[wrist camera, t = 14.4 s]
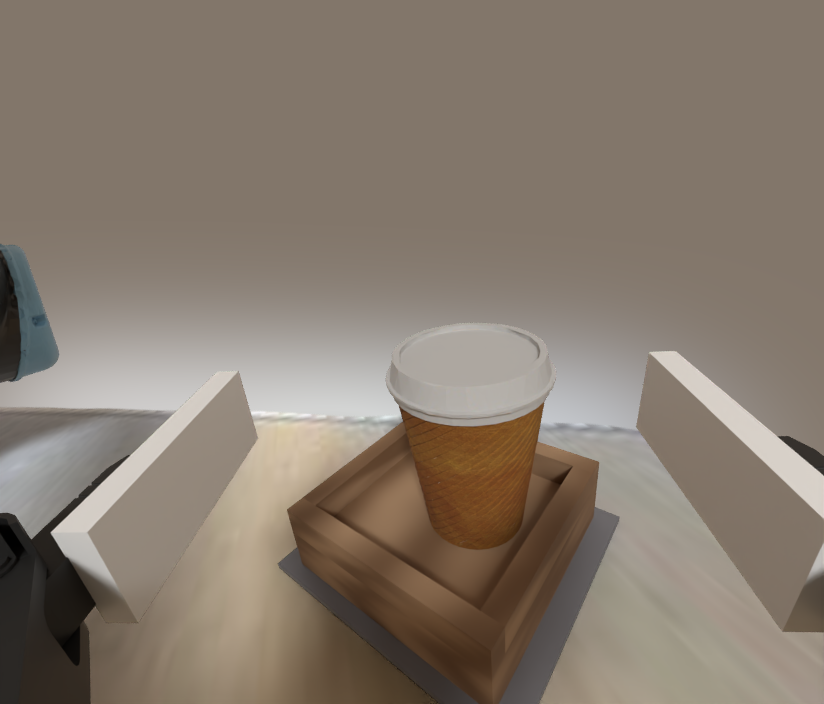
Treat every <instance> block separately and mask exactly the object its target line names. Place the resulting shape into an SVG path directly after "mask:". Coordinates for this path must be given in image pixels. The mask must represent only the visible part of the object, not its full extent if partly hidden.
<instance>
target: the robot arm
mask: <svg viewBox="0 0 824 704" xmlns="http://www.w3.org/2000/svg"><path fill="white" fill-rule="evenodd" d="M58 357H59V351H58V347H57V345H56V342H55V339H54V336H53V333H52V330H51V327H50V324H49V321H48V318H47V315H46V312H45V309H44V307H43V304H42V301H41V298H40V295H39V292H38V289H37V286H36V284H35V281H34V278H33V275H32V272H31V269H30V266H29V263H28V260H27V258H26V255H25V253H24V251H23V250H22V249H21V248H20V247H18V246H16V245H2V244H0V383H1V382H5V381H10V382H13V381H18V380H20V379H21V378H22V377H24V376H27V375H30V374H33V373H36V372H39V371H43V370H46V369H48V368H50V367H52V366H53V365H54V364H55V363H56V362H57V360H58ZM636 427H637V429H638V430H639V432H640V433H641V434H642V436H643V437H644V439H645V440H646V441H647V443H648V444H649V446H650V447H651V448H652V450H653V451H654V453H655V454H656V455H657V457H658V458H659V460H660V461H661V462H662V464H663V465H664V467H665V468H666V469H667V471H668V472H669V474H670V475H671V476H672V478H673V479H674V481H675V482H676V483H677V485H678V486H679V488H680V489H681V490H682V492H683V493H684V495H685V496H686V497H687V499H688V500H689V502H690V503H691V504H692V506H693V507H694V509H695V510H696V511H697V513H698V514H699V516H700V517H701V518H702V520H703V521H704V523H705V524H706V525H707V527H708V528H709V530H710V531H711V532H712V534H713V535H714V537H715V538H716V539H717V541H718V542H719V544H720V545H721V546H722V548H723V549H724V551H725V552H726V553H727V555H728V556H729V558H730V559H731V560H732V562H733V563H734V565H735V566H736V567H737V569H738V570H739V572H740V573H741V574H742V576H743V577H744V579H745V580H746V581H747V583H748V584H749V586H750V587H751V588H752V590H753V591H754V593H755V594H756V595H757V597H758V598H759V600H760V601H761V602H762V604H763V605H764V607H765V608H766V609H767V611H768V612H769V614H770V615H771V616H772V618H773V619H774V621H775V622H776V623H777V625H778V626H779V628H780V629H781V630H782V632H824V456H823V455H821V454H820V453H819V452H818V451H816V450H815V449H813V448H811V447H809V446H807V445H805V444H803V443H801V442H798V441H797V440H795V439H793V438H791V437H789V436H781V437H780V436H779V437H777V436H776V435H775V434H773V433H772V432H771V431H770V430H769V429H767V428H766V427H765V426H764V425H763V424H762V423H760V422H759V421H758V420H756V418H754V417H753V416H752V415H751V414H749V413H748V412H747V411H746V410H745V409H744V408H742V407H741V406H740V405H739V404H738V403H737V402H735V401H734V400H733V399H732V398H731V397H729V396H728V395H727V394H726V393H725V392H723V391H722V390H721V389H720V388H719V387H718V386H716V385H715V384H714V383H713V382H712V381H710V380H709V379H708V378H707V377H706V376H704V375H703V374H702V373H701V372H700V371H699V370H697V369H696V368H695V367H694V366H693V365H691V364H690V363H689V362H688V361H686V360H685V359H684V358H683V357H682V356H681V355H679V354H678V353H677V352H676V351H666V352H649V355H648V361H647V367H646V373H645V379H644V384H643V391H642V396H641V402H640V408H639V414H638V420H637V426H636ZM257 439H258V436H257V433H256V430H255V426H254V423H253V419H252V416H251V412H250V409H249V406H248V402H247V399H246V395H245V392H244V388H243V385H242V381H241V378H240V374H239V371H231V372H230V371H229V372H216V373H215V374H214V375H213V376H212V377H211V378H210V379H209V380H208V381H207V382H206V383H205V384H204V385H203V386H202V387H201V388H200V389H199V390H198V391H197V392H196V393H195V394H194V395H193V396H191V397H190V398H189V399H188V400H187V401H186V402H185V403H184V404H183V405H182V406H181V407H180V408H179V409H178V410H177V411H176V412H175V413H174V414H173V415H172V416H171V417H170V418H169V419H168V420H167V421H166V422H165V423H164V424H162V425H161V426H160V427H159V428H158V429H157V430H156V431H155V432H154V433H153V434H152V435H151V436H150V437H149V438H148V439H147V440H146V441H145V442H144V443H143V444H142V445H141V446H140V447H139V448H138V449H137V450H136V451H135V452H133V453H132V454H131V455H128V456H126V457H125V458H123V459H121V460H120V461H118V462H117V463H115V464H113V465H112V466H110V467H109V468H107V469H106V470H105V471H104V472H103V473H102V474H101V475H100V476H99V477H98V478H97V479H95V480H94V481H93V482H92V485H91V486H88V487H87V488H86V489H85V490H84V491H83V492H82V493H81V494H79V498H75V499H74V500H73V501H72V502H71V503H70V504H69V505H68V506H67V507H66V508H65V509H63V510H62V511H61V512H60V513H59V514H58V515H57V516H56V517H55V518H54V519H53V520H52V521H51V522H50V523H49V524H47V525H46V526H45V527H44V528H43V529H42V530H41V531H40V532H39V533H38V534H37V535H36V536H35V537H34V538H33V539H30V537H29V536H28V534H27V533H26V531H25V530H24V528H23V527H22V525H21V524H20V522H19V520H18V519H17V517H16V516H15V515H13V514H10V513H0V704H91V702H90V654H89V631H88V628H87V626H86V624H85V622H84V621H83V620H84V619H85V618H86V617H87V615H88V614H89V613H90V611H91V610H92V609H93V607H94V606H96V607H97V609H98V611H99V612H100V614H101V615H102V617H103V619H104V620H105V622H106V623H139V621H140V620H141V618H142V617H143V615H144V614H145V612H146V611H147V609H148V608H149V606H150V604H151V603H152V601H153V600H154V598H155V597H156V595H157V594H158V592H159V591H160V589H161V587H162V586H163V584H164V583H165V581H166V580H167V578H168V577H169V575H170V574H171V572H172V570H173V569H174V567H175V566H176V564H177V563H178V561H179V560H180V558H181V557H182V555H183V553H184V552H185V550H186V549H187V547H188V546H189V544H190V543H191V541H192V540H193V538H194V536H195V535H196V533H197V532H198V530H199V529H200V527H201V526H202V524H203V523H204V521H205V520H206V518H207V516H208V515H209V513H210V512H211V510H212V509H213V507H214V506H215V504H216V503H217V501H218V499H219V498H220V496H221V495H222V493H223V492H224V490H225V489H226V487H227V486H228V484H229V482H230V481H231V479H232V478H233V476H234V475H235V473H236V472H237V470H238V469H239V467H240V465H241V464H242V462H243V461H244V459H245V458H246V456H247V455H248V453H249V452H250V450H251V448H252V447H253V445H254V444H255V442H256V441H257Z"/></svg>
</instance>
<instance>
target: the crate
mask: <svg viewBox="0 0 824 704" xmlns="http://www.w3.org/2000/svg"><path fill="white" fill-rule="evenodd" d="M598 469H599V462H598V461H595V460H592V459H589V458H586V457H582V456H579V455H576V454H573V453H570V452H567V451H564V450H561V449H558V448H555V447H552V446H549V445H546V444H543V443H540V442H537V445H536V451H535V456H534V461H533V467H532V472H531V478H530V482H529V488H528V493H527V499H526V504H525V510H524V516H523V522H522V525H521V527H520V529H519V531H518V532H517V533H516V535H515V536H514V537H513V538H512V539H510V540H509V541H508V542H506V543H504V544H502V545H500V546H498V547H494V548H490V549H483V550H472V549H466V548H462V547H457V546H455V545H453V544H451V543H449V542H447V541H446V540H444V539H443V538H441V537H440V536H439V535H438V534H437V532H436V531H435V530H434V529H433V527H432V525H431V522H430V519H429V514H428V511H427V509H428V508H427V507H426V504H425V502H426V501H425V500H424V497H423V495H424V494H423V492H422V489H421V485H420V482H419V480H420V479H419V477H418V475H417V470H416V468H415V462H414V460H413V455H412V452H411V448H410V444H409V441H408V437H407V434H406V429H405V426H404V422H402V423H400V424H399V425H398V426H397V427H395V428H394V429H393V430H391V431H390V432H389V433H387V434H386V435H385V436H383V437H382V438H381V439H379V440H378V441H377V442H375V443H374V444H373V445H372V446H370V447H369V448H368V449H366V450H365V451H364V452H362V453H361V454H360V455H358V456H357V457H356V458H354V459H353V460H352V461H350V462H349V463H348V464H347V465H345V466H344V467H343V468H341V469H340V470H339V471H337V472H336V473H335V474H333V475H332V476H331V477H329V478H328V479H327V480H326V481H324V482H323V483H322V484H320V485H319V486H318V487H316V488H315V489H314V490H312V491H311V492H310V493H308V494H307V495H306V496H304V497H303V498H302V499H301V500H299V501H298V502H297V503H295V504H294V505H293V506H291V507H290V508H289V509H287V512H288V515H289V519H290V522H291V526H292V529H293V533H294V536H295V540H296V543H297V547H298V550H299V554H300V557H301V561H302V564H303V565H304V566H306V567H307V568H308V569H309V570H311V571H312V572H313V573H315V574H316V575H317V576H318V577H320V578H321V579H322V580H323V581H325V582H326V583H327V584H328V585H330V586H331V587H332V588H333V589H335V590H336V591H337V592H339V593H340V594H341V595H342V596H344V597H345V598H346V599H347V600H349V601H350V602H351V603H352V604H354V605H355V606H356V607H357V608H359V609H360V610H361V611H363V612H364V613H365V614H366V615H368V616H369V617H370V618H371V619H373V620H374V621H375V622H376V623H378V624H379V625H380V626H381V627H383V628H384V629H385V630H387V631H388V632H389V633H390V634H392V635H393V636H394V637H395V638H397V639H398V640H399V641H400V642H402V643H403V644H404V645H405V646H407V647H408V648H409V649H410V650H412V651H413V652H414V653H416V654H417V655H418V656H419V657H421V658H422V659H423V660H424V661H426V662H427V663H428V664H429V665H431V666H432V667H433V668H434V669H436V670H437V671H438V672H440V673H441V674H442V675H443V676H445V677H446V678H447V679H448V680H450V681H451V682H452V683H453V684H455V685H456V686H457V687H458V688H460V689H461V690H462V691H464V692H465V693H466V694H467V695H469V696H470V697H471V698H472V699H474V700H475V701H476V702H477V703H479V704H499V702H500V701H501V699H502V697H503V695H504V693H505V691H506V689H507V687H508V685H509V683H510V681H511V679H512V677H513V675H514V673H515V671H516V669H517V667H518V665H519V663H520V661H521V659H522V657H523V655H524V653H525V651H526V649H527V647H528V645H529V643H530V641H531V639H532V637H533V635H534V633H535V631H536V629H537V627H538V626H539V624H540V622H541V620H542V618H543V616H544V614H545V612H546V610H547V608H548V606H549V604H550V602H551V600H552V598H553V596H554V594H555V592H556V590H557V588H558V586H559V584H560V582H561V580H562V578H563V576H564V574H565V572H566V570H567V568H568V566H569V564H570V562H571V560H572V558H573V556H574V554H575V552H576V551H577V549H578V547H579V545H580V543H581V541H582V539H583V537H584V535H585V533H586V531H587V529H588V527H589V525H590V523H591V521H592V519H593V517H594V507H595V498H596V488H597V479H598Z"/></svg>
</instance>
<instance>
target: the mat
mask: <svg viewBox="0 0 824 704" xmlns="http://www.w3.org/2000/svg"><path fill="white" fill-rule="evenodd" d="M618 522H619V516H616V515H614V514H611V513H608V512H606V511H603V510H601V509H598V508H596V507H594V517H593V519H592V521H591V523H590V525H589V527H588V529H587V531H586V533H585V535H584V537H583V539H582V541H581V543H580V545H579V547H578V549H577V551H576V552H575V554H574V556H573V558H572V560H571V562H570V564H569V566H568V568H567V570H566V572H565V574H564V576H563V578H562V580H561V582H560V584H559V586H558V588H557V590H556V592H555V594H554V596H553V598H552V600H551V602H550V604H549V606H548V608H547V610H546V612H545V614H544V616H543V618H542V620H541V622H540V624H539V626H538V627H537V629H536V631H535V633H534V635H533V637H532V639H531V641H530V643H529V645H528V647H527V649H526V651H525V653H524V655H523V657H522V659H521V661H520V663H519V665H518V667H517V669H516V671H515V673H514V675H513V677H512V679H511V681H510V683H509V685H508V687H507V689H506V691H505V693H504V695H503V697H502V699H501V701H500V702H499V704H539V702H540V700H541V698H542V695H543V693H544V691H545V689H546V686H547V684H548V682H549V679H550V677H551V675H552V673H553V670H554V668H555V666H556V663H557V661H558V659H559V657H560V654H561V652H562V650H563V647H564V645H565V643H566V641H567V638H568V636H569V634H570V631H571V629H572V627H573V625H574V622H575V620H576V618H577V615H578V613H579V611H580V609H581V606H582V604H583V602H584V599H585V597H586V595H587V593H588V590H589V588H590V586H591V583H592V581H593V579H594V577H595V574H596V572H597V570H598V567H599V565H600V563H601V561H602V558H603V556H604V554H605V551H606V549H607V547H608V544H609V542H610V540H611V538H612V535H613V533H614V531H615V528H616V526H617V524H618ZM278 566H279V568H280V569H281V570H283V571H284V572H285V573H286V574H287V575H288V576H290V577H291V578H292V579H293V580H294V581H296V582H297V583H298V584H299V585H300V586H301V587H303V588H304V589H305V590H306V591H307V592H309V593H310V594H311V595H312V596H313V597H314V598H316V599H317V600H318V601H319V602H320V603H322V604H323V605H324V606H325V607H326V608H327V609H329V610H330V611H331V612H332V613H333V614H335V615H336V616H337V617H338V618H339V619H340V620H342V621H343V622H344V623H345V624H346V625H348V626H349V627H350V628H351V629H352V630H353V631H355V632H356V633H357V634H358V635H359V636H361V637H362V638H363V639H364V640H365V641H366V642H368V643H369V644H370V645H371V646H372V647H374V648H375V649H376V650H377V651H378V652H379V653H381V654H382V655H383V656H384V657H385V658H387V659H388V660H389V661H390V662H391V663H392V664H394V665H395V666H396V667H397V668H398V669H400V670H401V671H402V672H403V673H404V674H405V675H407V676H408V677H409V678H410V679H411V680H413V681H414V682H415V683H416V684H417V685H418V686H420V687H421V688H422V689H423V690H424V691H426V692H427V693H428V694H429V695H430V696H431V697H433V698H434V699H435V700H436V701H437V702H438V703H440V704H479V703H477V702H476V701H475V700H474V699H472V698H471V697H470V696H469V695H467V694H466V693H465V692H464V691H462V690H461V689H460V688H458V687H457V686H456V685H455V684H453V683H452V682H451V681H450V680H448V679H447V678H446V677H445V676H443V675H442V674H441V673H440V672H438V671H437V670H436V669H434V668H433V667H432V666H431V665H429V664H428V663H427V662H426V661H424V660H423V659H422V658H421V657H419V656H418V655H417V654H416V653H414V652H413V651H412V650H410V649H409V648H408V647H407V646H405V645H404V644H403V643H402V642H400V641H399V640H398V639H397V638H395V637H394V636H393V635H392V634H390V633H389V632H388V631H387V630H385V629H384V628H383V627H381V626H380V625H379V624H378V623H376V622H375V621H374V620H373V619H371V618H370V617H369V616H368V615H366V614H365V613H364V612H363V611H361V610H360V609H359V608H357V607H356V606H355V605H354V604H352V603H351V602H350V601H349V600H347V599H346V598H345V597H344V596H342V595H341V594H340V593H339V592H337V591H336V590H335V589H333V588H332V587H331V586H330V585H328V584H327V583H326V582H325V581H323V580H322V579H321V578H320V577H318V576H317V575H316V574H315V573H313V572H312V571H311V570H309V569H308V568H307V567H306V566H304V565H303V564H302V561H301V557H300V554H299V550H298V547H297V548H296V549H294V550H293V551H292V552H291V553H290V554H289V555H287V556H286V557H285V558H284V559H283V560H282V561H280V562H279V563H278Z"/></svg>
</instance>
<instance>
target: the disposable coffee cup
mask: <svg viewBox="0 0 824 704" xmlns="http://www.w3.org/2000/svg"><path fill="white" fill-rule="evenodd" d="M555 380H556V370H555V367H554V364H553V363H552V362H551V360H550V359H549V356H548V352H547V347H546V345H545V343H544V342H543V341H542V340H541V339H540V338H539V337H537V336H535V335H534V334H532V333H530V332H528V331H525V330H522V329H519V328H516V327H511V326H507V325H500V324H489V323H463V324H462V323H461V324H452V325H446V326H441V327H436V328H432V329H428V330H425V331H422V332H419V333H417V334H415V335H413V336H410V337H408V338H407V339H405V340H404V341H402V342H401V343H400V344H399V345H398V346H397V347H396V349H395V350H394V351H393V354H392V364H391V366H390V368H389V369H388V371H387V375H386V384H387V388H388V389H389V392H390V393H391V395H392V396H393V397H394V399H395V401H396V402H397V404H398V405H399V408H400V411H401V415H402V419H403V422H404V426H405V429H406V434H407V437H408V441H409V444H410V448H411V452H412V455H413V460H414V462H415V468H416V470H417V475H418V477H419V479H420V480H419V482H420V485H421V489H422V492H423V494H424V495H423V497H424V500H425V501H426V502H425V504H426V507H427V508H428V509H427V511H428V514H429V519H430V522H431V525H432V527H433V529H434V530H435V531H436V532H437V534H438V535H439V536H440V537H441V538H443V539H444V540H446V541H447V542H449V543H451V544H453V545H455V546H457V547H462V548H466V549H472V550H483V549H490V548H494V547H498V546H500V545H502V544H504V543H506V542H508V541H509V540H510V539H512V538H513V537H514V536H515V535H516V533H517V532H518V531H519V529H520V527H521V525H522V522H523V516H524V510H525V504H526V499H527V493H528V488H529V482H530V478H531V472H532V467H533V461H534V456H535V451H536V445H537V441H538V434H539V429H540V423H541V418H542V411H543V407H544V401H545V400H546V398H547V396H548V395H549V392H550V391H551V390H552V388H553V385H554V383H555Z"/></svg>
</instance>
